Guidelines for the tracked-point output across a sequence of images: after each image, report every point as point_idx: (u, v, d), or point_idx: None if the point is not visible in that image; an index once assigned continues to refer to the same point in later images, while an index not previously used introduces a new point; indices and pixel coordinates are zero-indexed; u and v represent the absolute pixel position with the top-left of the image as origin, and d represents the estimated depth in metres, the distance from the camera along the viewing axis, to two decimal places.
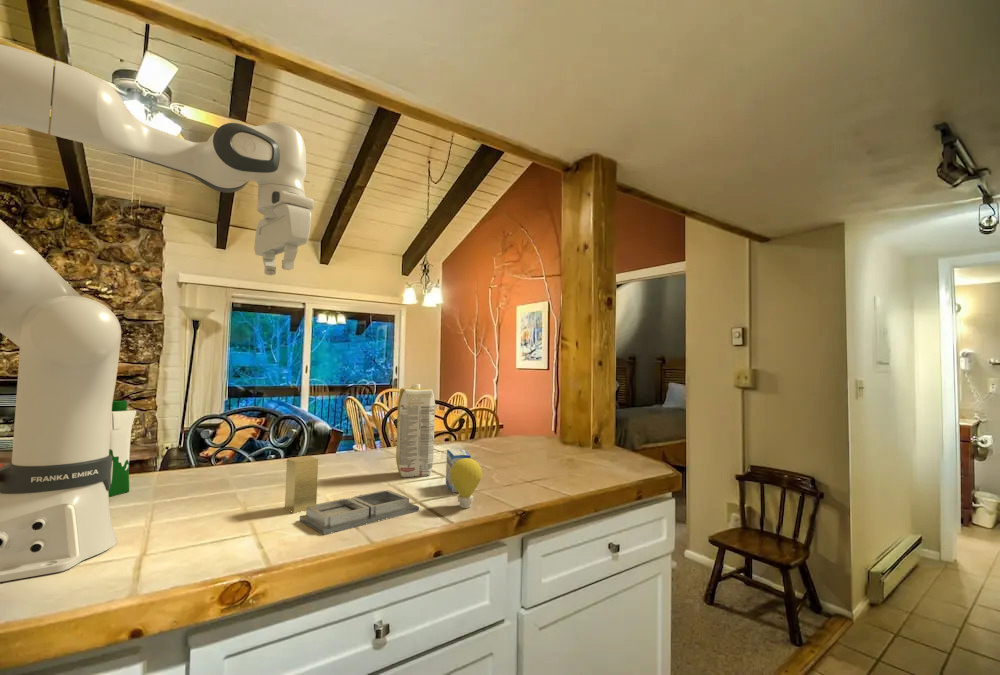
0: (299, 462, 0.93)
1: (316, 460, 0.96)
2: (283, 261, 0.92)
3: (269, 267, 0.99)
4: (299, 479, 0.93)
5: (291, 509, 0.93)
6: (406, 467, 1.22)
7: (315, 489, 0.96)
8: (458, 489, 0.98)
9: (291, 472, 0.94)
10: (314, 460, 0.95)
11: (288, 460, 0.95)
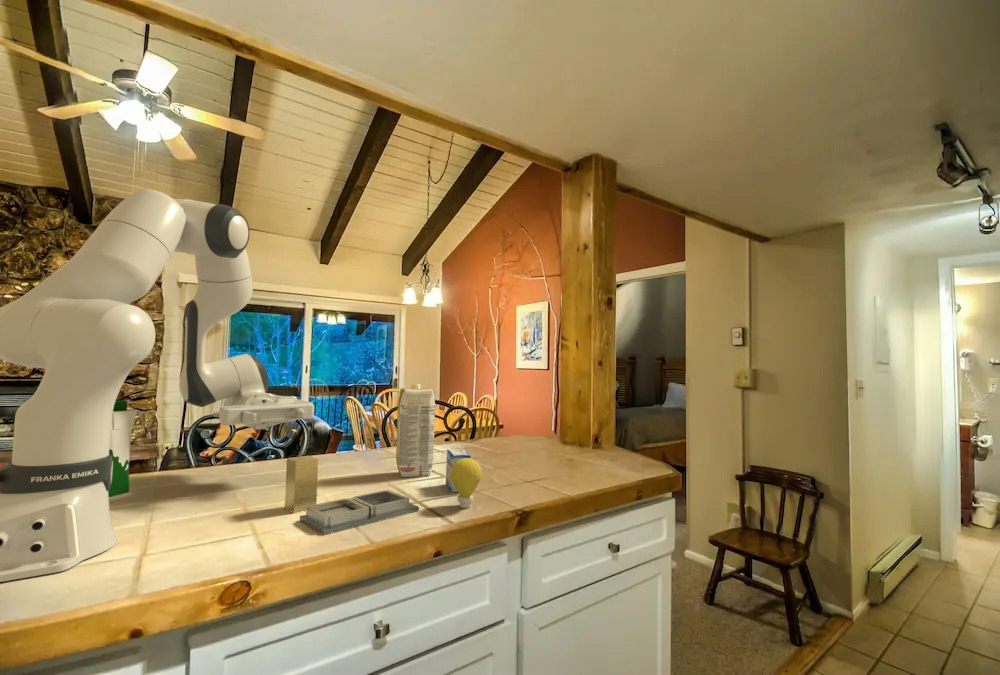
0: (299, 462, 0.93)
1: (316, 460, 0.96)
2: (299, 410, 1.10)
3: None
4: (299, 479, 0.93)
5: (291, 509, 0.93)
6: (406, 467, 1.22)
7: (315, 489, 0.96)
8: (458, 489, 0.98)
9: (291, 472, 0.94)
10: (314, 460, 0.95)
11: (288, 460, 0.95)
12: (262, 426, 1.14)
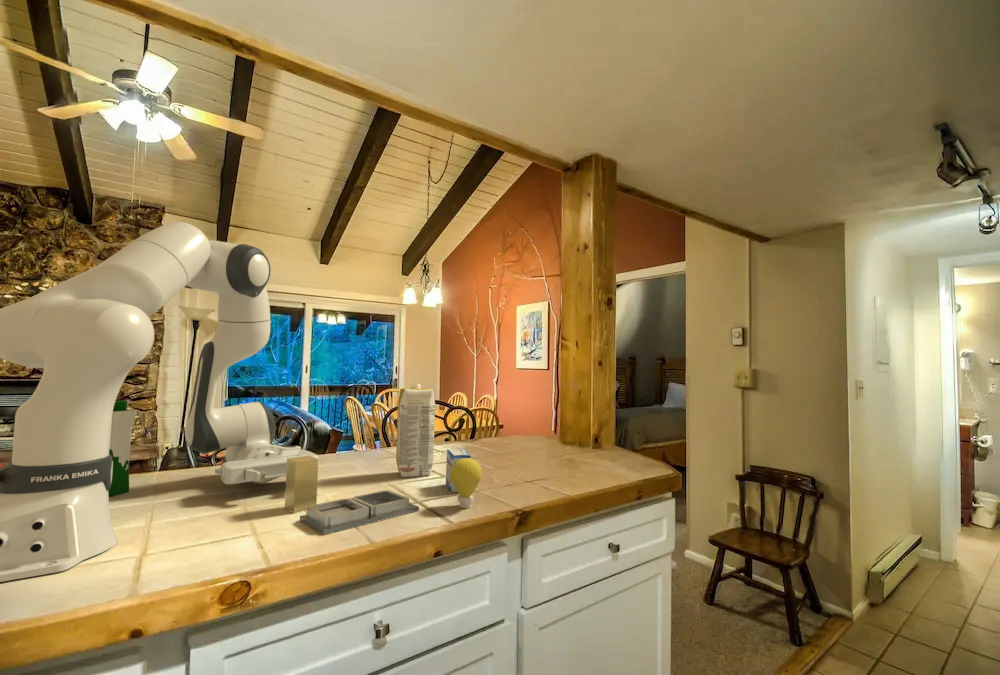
0: (299, 462, 0.93)
1: (316, 460, 0.96)
2: None
3: None
4: (299, 479, 0.93)
5: (291, 509, 0.93)
6: (406, 467, 1.22)
7: (315, 489, 0.96)
8: (458, 489, 0.98)
9: (291, 472, 0.94)
10: (314, 460, 0.95)
11: (288, 460, 0.95)
12: (265, 480, 1.10)
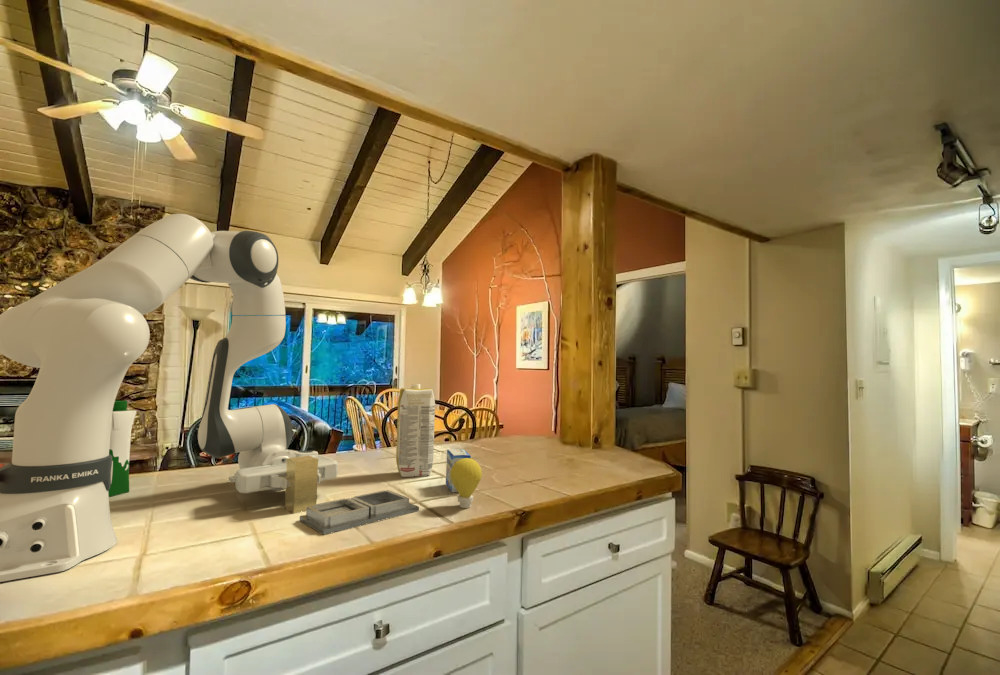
0: (299, 462, 0.93)
1: (316, 460, 0.96)
2: None
3: None
4: (299, 479, 0.93)
5: (291, 509, 0.93)
6: (406, 467, 1.22)
7: (315, 489, 0.96)
8: (458, 489, 0.98)
9: (291, 472, 0.94)
10: (314, 460, 0.95)
11: (288, 460, 0.95)
12: (281, 487, 1.04)
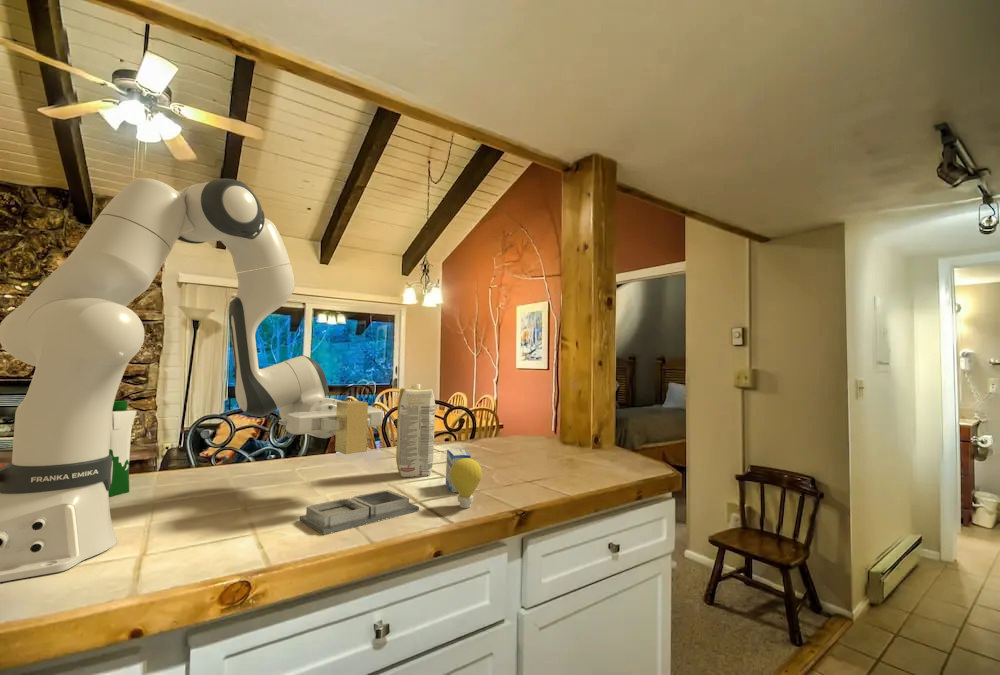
0: (350, 404, 0.94)
1: (366, 403, 0.97)
2: None
3: None
4: (351, 421, 0.94)
5: (343, 450, 0.94)
6: (406, 467, 1.22)
7: (365, 432, 0.96)
8: (458, 489, 0.98)
9: (342, 414, 0.95)
10: (364, 403, 0.96)
11: (338, 403, 0.96)
12: (327, 434, 1.05)
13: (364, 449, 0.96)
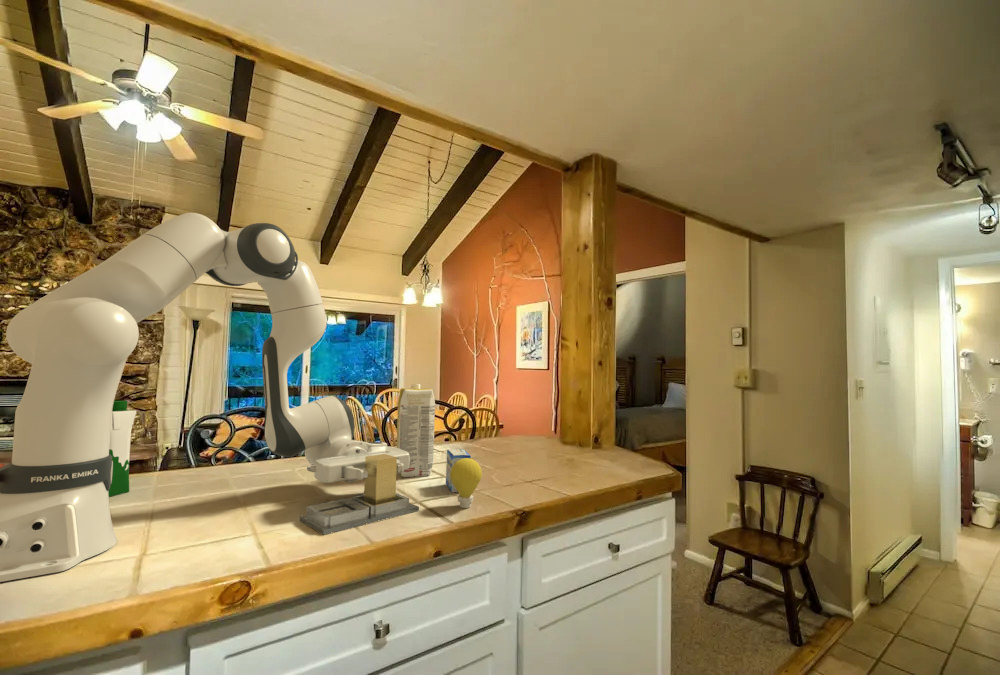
0: (380, 460, 0.93)
1: (395, 458, 0.95)
2: (397, 463, 0.99)
3: None
4: (380, 477, 0.93)
5: None
6: None
7: (394, 487, 0.95)
8: (458, 489, 0.98)
9: (371, 470, 0.94)
10: (393, 458, 0.95)
11: (367, 458, 0.95)
12: (354, 478, 1.03)
13: None
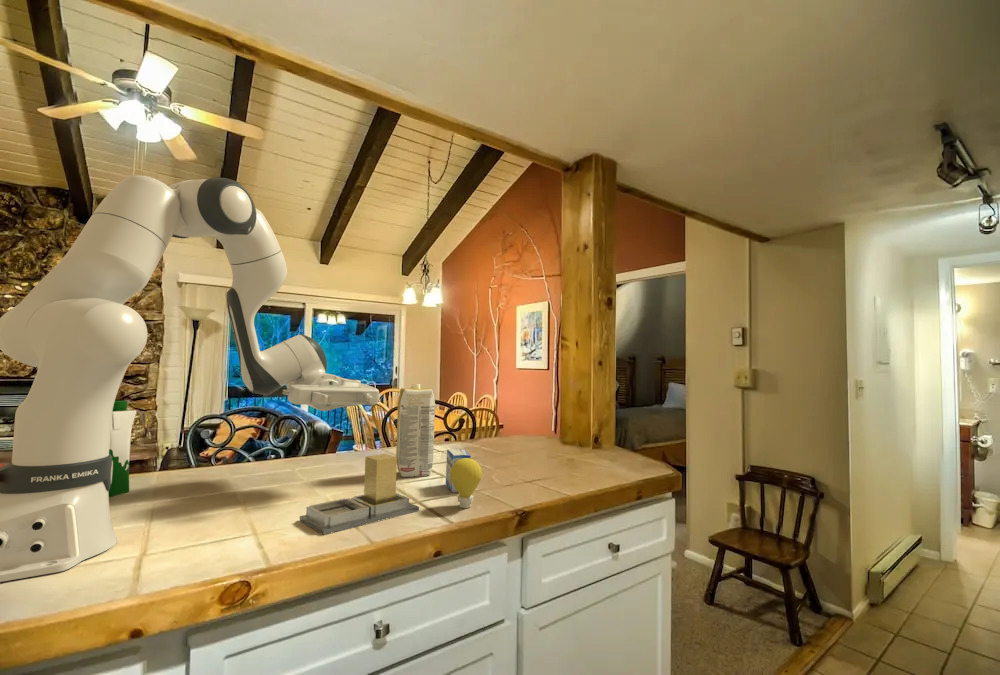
0: (380, 460, 0.93)
1: (395, 458, 0.95)
2: (367, 395, 1.08)
3: None
4: (380, 477, 0.93)
5: None
6: (406, 467, 1.22)
7: (394, 487, 0.95)
8: (458, 489, 0.98)
9: (371, 470, 0.94)
10: (393, 458, 0.95)
11: (367, 458, 0.95)
12: (326, 408, 1.13)
13: None
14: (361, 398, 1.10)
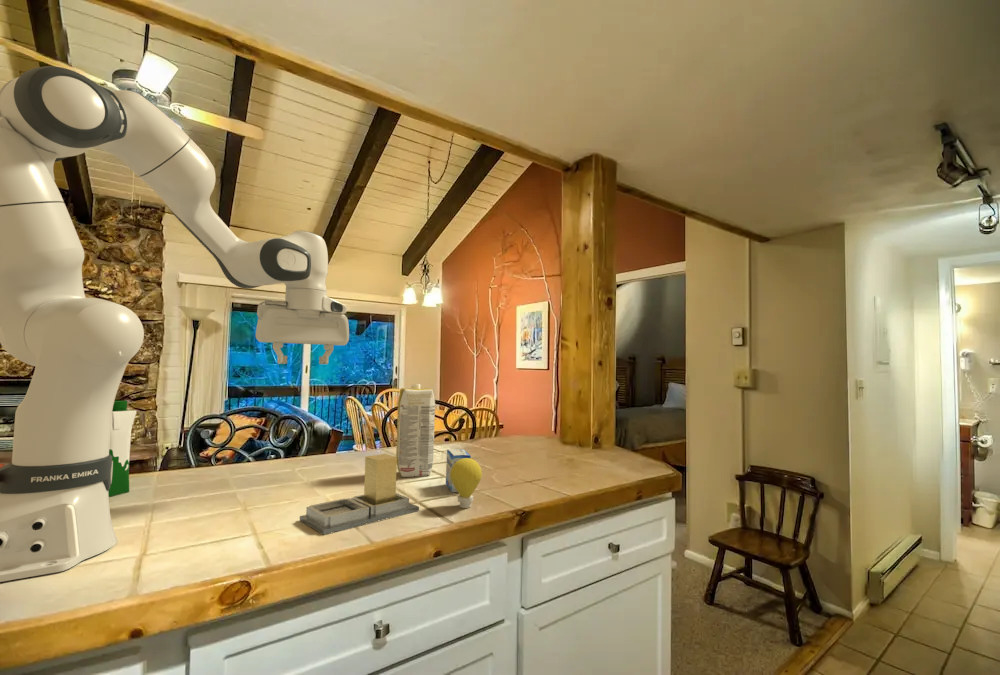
0: (380, 460, 0.93)
1: (395, 458, 0.95)
2: (326, 358, 1.10)
3: None
4: (380, 477, 0.93)
5: None
6: (406, 467, 1.22)
7: (394, 487, 0.95)
8: (458, 489, 0.98)
9: (371, 470, 0.94)
10: (393, 458, 0.95)
11: (367, 458, 0.95)
12: None
13: None
14: (325, 344, 1.12)
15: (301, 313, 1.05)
